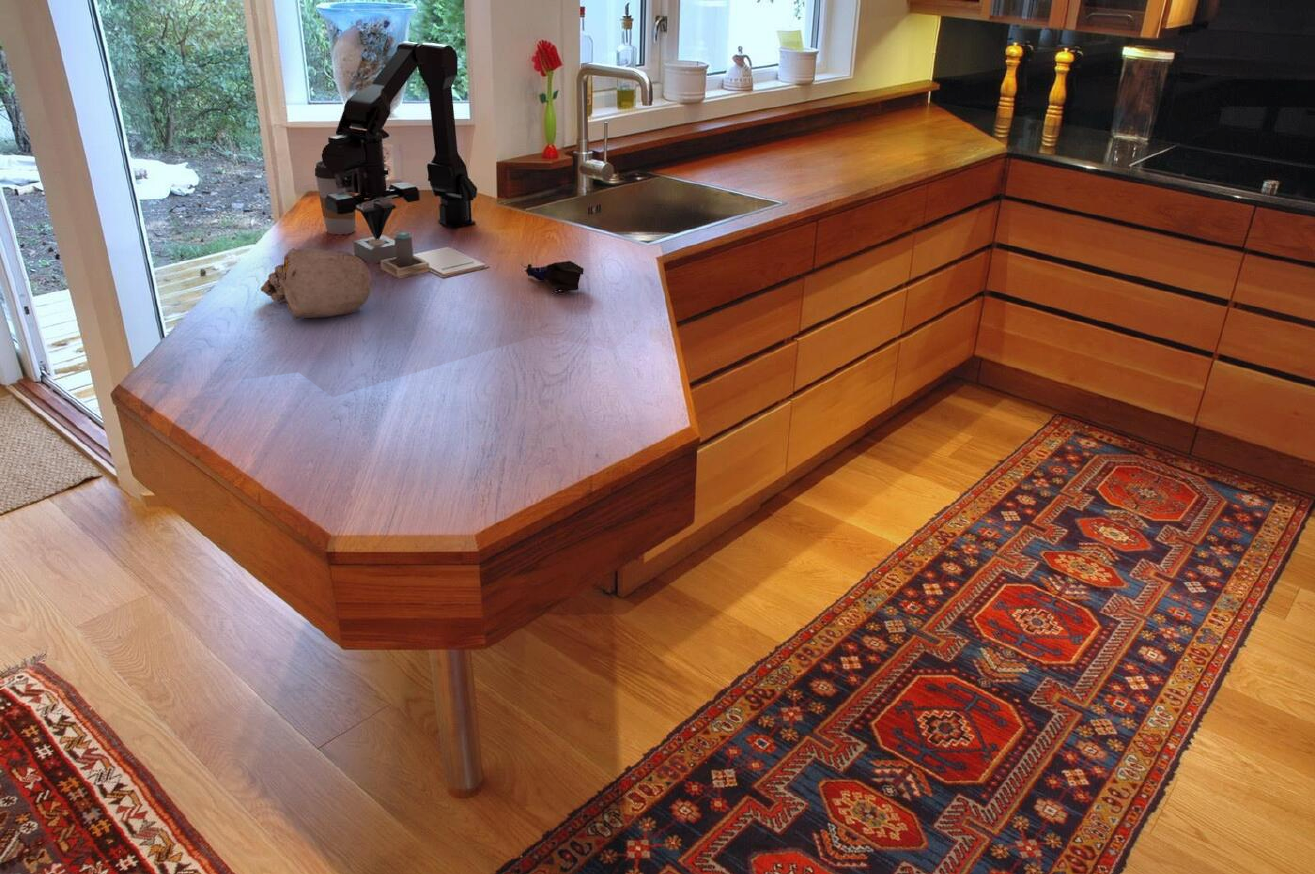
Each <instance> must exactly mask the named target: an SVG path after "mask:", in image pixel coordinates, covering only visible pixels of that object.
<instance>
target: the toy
mask: <svg viewBox="0 0 1315 874" xmlns="http://www.w3.org/2000/svg"><path fill="white" fill-rule="evenodd" d="M519 264H520V266H522V267H523V268H525V270H524V272H525V273H526V275H527V276H528V277H533V278H534V279H536V280H538V281H539V280H543V281H546V282H547V283H548V284H550V285H552V287H554V288H556V289H555V291H558V292H559V290H562V291H563V292H572V291H573V292H574V291H578V290H579V284H580V279H581V275H582V276H583V275H584V271H585V269H584V268H583V267H581V265H579V264H576V262H573V261H572V260H565V261H558V262H553V263H550V264H547V265H545V266H540V267H539V266H538V267H532V264H530V263H528V264H527V266H526V265H524V264H523V262H522V261H521V262H520V263H519Z"/></svg>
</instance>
